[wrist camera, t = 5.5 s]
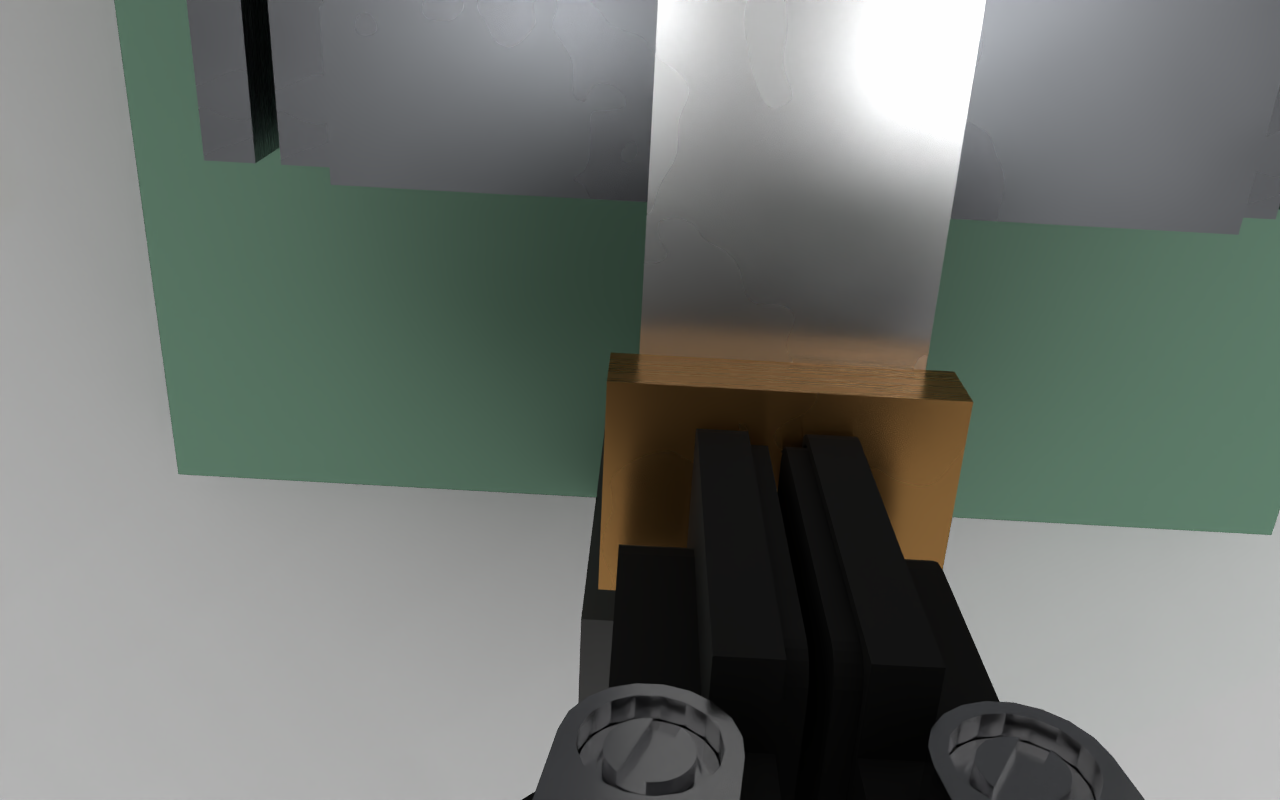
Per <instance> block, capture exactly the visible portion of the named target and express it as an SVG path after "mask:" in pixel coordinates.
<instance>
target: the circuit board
mask: <svg viewBox="0 0 1280 800" xmlns="http://www.w3.org/2000/svg"><path fill="white" fill-rule="evenodd" d="M114 3H115V10H116V17H117V25H118V32H119V39H120V47H121V54H122V61H123V69H124V76H125V84H126V91H127V98H128V106H129V113H130V120H131V128H132V135H133V142H134V150H135V157H136V165H137V172H138V179H139V187H140V194H141V201H142V209H143V216H144V224H145V231H146V238H147V246H148V253H149V260H150V268H151V275H152V282H153V290H154V297H155V305H156V312H157V319H158V327H159V334H160V341H161V349H162V356H163V363H164V371H165V378H166V386H167V393H168V400H169V408H170V415H171V422H172V430H173V437H174V444H175V452H176V459H177V467H178V474H184V475H202V476H220V477H238V478H256V479H274V480H292V481H310V482H328V483H345V484H363V485H381V486H399V487H417V488H435V489H453V490H471V491H489V492H507V493H525V494H543V495H561V496H579V497H596V504H595V512H594V520H593V528H592V536H591V545H590V553H589V561H588V569H587V577H586V585H585V594H584V602H583V610H582V618H581V644H580V674H579V703H580V702H581V701H582V700H584V699H585V698H586V697H588V696H590V695H593V694H595V693H598V692H600V691H603V690H605V689H608V688H609V675H610V661H611V647H612V633H613V619H614V605H615V590H601V589H598V583H599V559H600V534H601V510H602V486H603V462H604V438H605V414H606V389H607V377H608V369H609V362H610V354H611V353H630V354H639V351H640V332H641V314H642V295H643V276H644V257H645V238H646V220H647V202H634V201H616V200H598V199H579V198H561V197H543V196H525V195H507V194H489V193H470V192H452V191H434V190H416V189H398V188H380V187H361V186H343V185H331V183H330V167H312V166H294V165H281V157H280V148H278V149H277V150H275V151H274V152H272V153H271V154H269V155H268V156H266V157H264V158H263V159H261V160H260V161H258V162H257V163H239V162H221V161H204V155H203V146H202V137H201V128H200V119H199V110H198V101H197V92H196V83H195V74H194V65H193V56H192V47H191V38H190V29H189V20H188V11H187V2H186V0H114ZM926 370H937V371H954V372H955V373H956V375H957V377H958V378H959V380H960V381H961V383H962V385H963V386H964V388H965V389H966V391H967V393H968V394H969V396H970V397H971V399H972V401H973V406H972V412H971V417H970V423H969V428H968V434H967V439H966V445H965V450H964V455H963V461H962V466H961V472H960V477H959V483H958V488H957V494H956V499H955V505H954V510H953V515H952V517H957V518H975V519H993V520H1011V521H1029V522H1047V523H1065V524H1083V525H1101V526H1119V527H1137V528H1155V529H1173V530H1191V531H1209V532H1227V533H1245V534H1263V535H1271V534H1272V531H1273V528H1274V525H1275V522H1276V519H1277V516H1278V513H1279V510H1280V210H1279V209H1278V213H1277V216H1276V219H1258V218H1243V220H1242V224H1241V227H1240V231H1239V235H1234V234H1215V233H1197V232H1179V231H1161V230H1143V229H1125V228H1106V227H1088V226H1070V225H1052V224H1034V223H1016V222H997V221H979V220H961V219H950V224H949V230H948V236H947V242H946V248H945V254H944V260H943V267H942V273H941V279H940V285H939V291H938V297H937V303H936V310H935V316H934V322H933V328H932V334H931V340H930V346H929V353H928V359H927V365H926Z"/></svg>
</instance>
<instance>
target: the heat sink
mask: <svg viewBox="0 0 1280 800" xmlns="http://www.w3.org/2000/svg"><path fill="white" fill-rule="evenodd" d="M186 2H187V11H188V20H189V29H190V38H191V47H192V56H193V65H194V74H195V83H196V92H197V101H198V110H199V119H200V128H201V137H202V146H203V155H204V161H221V162H239V163H257V162H258V161H260V160H261V159H263V158H264V157H266V156H268V155H269V154H271V153H272V152H274V151H275V150H277V149H278V148H280V157H281V165H294V166H312V167H330V183H331V185H343V186H361V187H380V188H398V189H416V190H434V191H452V192H470V193H489V194H507V195H525V196H543V197H561V198H579V199H598V200H616V201H634V202H647V201H648V182H649V163H650V145H651V126H652V107H653V88H654V70H655V51H656V32H657V13H658V0H186ZM1278 209H1279V210H1280V0H986V3H985V9H984V15H983V21H982V27H981V33H980V39H979V46H978V52H977V58H976V64H975V70H974V76H973V82H972V88H971V95H970V101H969V107H968V113H967V119H966V125H965V131H964V138H963V144H962V150H961V156H960V162H959V168H958V174H957V181H956V187H955V193H954V199H953V205H952V211H951V217H950V219H961V220H979V221H997V222H1016V223H1034V224H1052V225H1070V226H1088V227H1106V228H1125V229H1143V230H1161V231H1179V232H1197V233H1215V234H1234V235H1239V231H1240V227H1241V224H1242V220H1243V218H1258V219H1276V216H1277V213H1278Z"/></svg>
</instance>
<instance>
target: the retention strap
mask: <svg viewBox="0 0 1280 800" xmlns="http://www.w3.org/2000/svg"><path fill="white" fill-rule="evenodd" d="M985 3H986V0H658V13H657V32H656V51H655V70H654V88H653V107H652V126H651V145H650V163H649V182H648V201H647V220H646V238H645V257H644V276H643V295H642V314H641V332H640V351H639V354H630V353H611V354H610V362H609V369H608V377H607V389H606V414H605V438H604V462H603V486H602V510H601V534H600V559H599V583H598V589H601V590H616V576H617V562H618V548H619V544H622V545H642V546H661V547H681V548H687V540H688V526H689V513H690V500H691V486H692V473H693V460H694V447H695V433H696V429H716V430H735V431H748V433H749V438H750V444H751V445H763V446H768V448H769V453H770V458H771V463H772V468H773V473H774V478H775V483H776V488H777V492H778V482H779V473H780V464H781V457H782V452H783V449H784V447H802V443H803V437H804V435H805V434H812V435H831V436H851V437H858V439H859V440H860V442H861V445H862V448H863V450H864V453H865V456H866V458H867V461H868V464H869V466H870V469H871V472H872V474H873V477H874V479H875V482H876V485H877V487H878V490H879V493H880V495H881V498H882V501H883V503H884V506H885V509H886V511H887V514H888V517H889V519H890V522H891V524H892V527H893V530H894V532H895V535H896V538H897V540H898V543H899V546H900V548H901V551H902V554H903V556H904V559H913V560H932V561H936V562H938V563H939V565H940V566H941V568H942V570H943V565H944V559H945V554H946V548H947V543H948V537H949V532H950V526H951V521H952V515H953V510H954V505H955V499H956V494H957V488H958V483H959V477H960V472H961V466H962V461H963V455H964V450H965V445H966V439H967V434H968V428H969V423H970V417H971V412H972V406H973V401H972V399H971V397H970V396H969V394H968V393H967V391H966V389H965V388H964V386H963V385H962V383H961V381H960V380H959V378H958V377H957V375H956V373H955V372H954V371H937V370H926V365H927V359H928V353H929V346H930V340H931V334H932V328H933V322H934V316H935V310H936V303H937V297H938V291H939V285H940V279H941V273H942V267H943V260H944V254H945V248H946V242H947V236H948V230H949V224H950V217H951V211H952V205H953V199H954V193H955V187H956V181H957V174H958V168H959V162H960V156H961V150H962V144H963V138H964V131H965V125H966V119H967V113H968V107H969V101H970V95H971V88H972V82H973V76H974V70H975V64H976V58H977V52H978V46H979V39H980V33H981V27H982V21H983V15H984V9H985Z"/></svg>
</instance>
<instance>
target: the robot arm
mask: <svg viewBox="0 0 1280 800" xmlns="http://www.w3.org/2000/svg"><path fill="white" fill-rule="evenodd" d="M522 800H1145V799H1144V798H1143V797H1142V795H1141V794H1140V793H1139V791H1138V790H1137V789H1136V787H1135V786H1134V785H1133V783H1132V782H1131V781H1130V779H1129V778H1128V777H1127V775H1126V774H1125V773H1124V771H1123V770H1122V769H1121V767H1120V766H1119V765H1118V763H1117V762H1116V761H1115V759H1114V758H1113V757H1112V756H1111V755H1110V754H1109V753H1108V751H1107V750H1106V749H1105V748H1104V747H1103V746H1102V745H1101V744H1100V743H1099V742H1098V741H1097V740H1096V739H1095V738H1094V737H1092V736H1091V735H1089V734H1088V733H1086V732H1085V731H1083V730H1082V729H1080V728H1079V727H1077V726H1076V725H1074V724H1073V723H1071V722H1070V721H1067V720H1065V719H1063V718H1060V717H1058V716H1056V715H1053V714H1051V713H1049V712H1046V711H1044V710H1041V709H1037V708H1033V707H1029V706H1025V705H1021V704H1017V703H1010V702H999V700H998V697H997V695H996V693H995V690H994V688H993V686H992V683H991V681H990V679H989V676H988V674H987V672H986V669H985V667H984V665H983V662H982V660H981V658H980V655H979V653H978V651H977V648H976V646H975V644H974V641H973V639H972V637H971V634H970V632H969V630H968V628H967V625H966V623H965V621H964V618H963V616H962V614H961V611H960V609H959V607H958V604H957V602H956V600H955V597H954V595H953V593H952V590H951V588H950V586H949V583H948V581H947V579H946V576H945V574H944V572H943V570H942V568H941V566H940V565H939V563H938V562H936V561H932V560H913V559H904V556H903V554H902V551H901V548H900V546H899V543H898V540H897V538H896V535H895V532H894V530H893V527H892V524H891V522H890V519H889V517H888V514H887V511H886V509H885V506H884V503H883V501H882V498H881V495H880V493H879V490H878V487H877V485H876V482H875V479H874V477H873V474H872V472H871V469H870V466H869V464H868V461H867V458H866V456H865V453H864V450H863V448H862V445H861V442H860V440H859V439H858V437H851V436H831V435H812V434H805V435H804V437H803V443H802V447H784V449H783V452H782V457H781V464H780V473H779V482H778V492H777V488H776V483H775V478H774V473H773V468H772V463H771V458H770V453H769V448H768V446H763V445H751V444H750V438H749V433H748V431H735V430H716V429H696V433H695V447H694V460H693V473H692V486H691V500H690V513H689V526H688V540H687V548H681V547H661V546H642V545H622V544H619V548H618V562H617V576H616V590H615V605H614V619H613V633H612V647H611V661H610V675H609V688H608V689H605V690H603V691H600V692H598V693H595V694H593V695H590V696H588V697H586V698H585V699H584V700H582V701H581V702H580V703H578V704H577V705H576V706H575V707H573V708H572V709H571V710H569V712H568V713H567V715H566V716H565V718H564V720H563V721H562V723H561V725H560V726H559V728H558V730H557V733H556V736H555V738H554V741H553V744H552V747H551V750H550V752H549V755H548V758H547V761H546V764H545V766H544V769H543V772H542V775H541V777H540V780H539V783H538V786H537V789H536V791H535V792H534V793H532V794H530V795H529V796H527V797H525V798H524V799H522Z"/></svg>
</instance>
